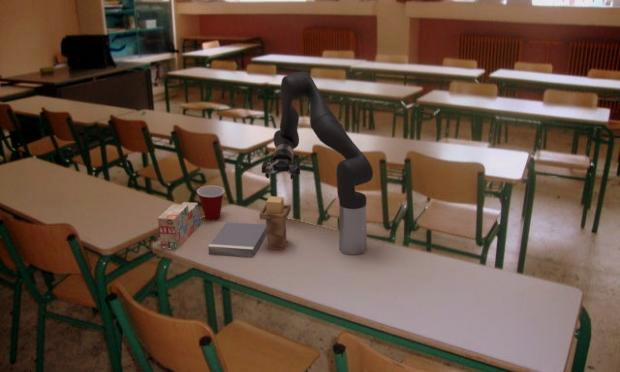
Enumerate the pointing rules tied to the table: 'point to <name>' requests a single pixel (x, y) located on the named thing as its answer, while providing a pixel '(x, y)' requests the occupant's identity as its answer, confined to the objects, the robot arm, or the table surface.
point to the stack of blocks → (178, 224)
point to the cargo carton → (275, 205)
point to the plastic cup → (211, 201)
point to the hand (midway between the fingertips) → (279, 176)
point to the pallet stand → (276, 227)
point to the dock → (238, 239)
